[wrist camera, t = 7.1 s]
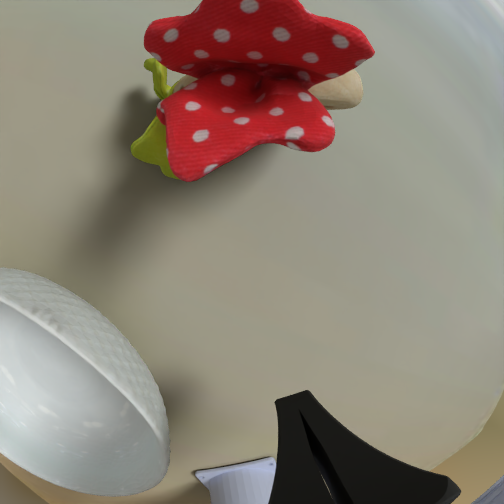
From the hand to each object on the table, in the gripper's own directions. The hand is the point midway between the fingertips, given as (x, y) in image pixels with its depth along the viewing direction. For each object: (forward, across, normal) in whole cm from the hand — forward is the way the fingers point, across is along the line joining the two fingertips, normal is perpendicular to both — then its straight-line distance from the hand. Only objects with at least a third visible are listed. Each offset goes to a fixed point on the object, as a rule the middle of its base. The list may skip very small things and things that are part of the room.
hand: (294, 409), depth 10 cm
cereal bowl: (+8, +14, 0) cm, 16 cm away
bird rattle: (+8, -1, -12) cm, 14 cm away
